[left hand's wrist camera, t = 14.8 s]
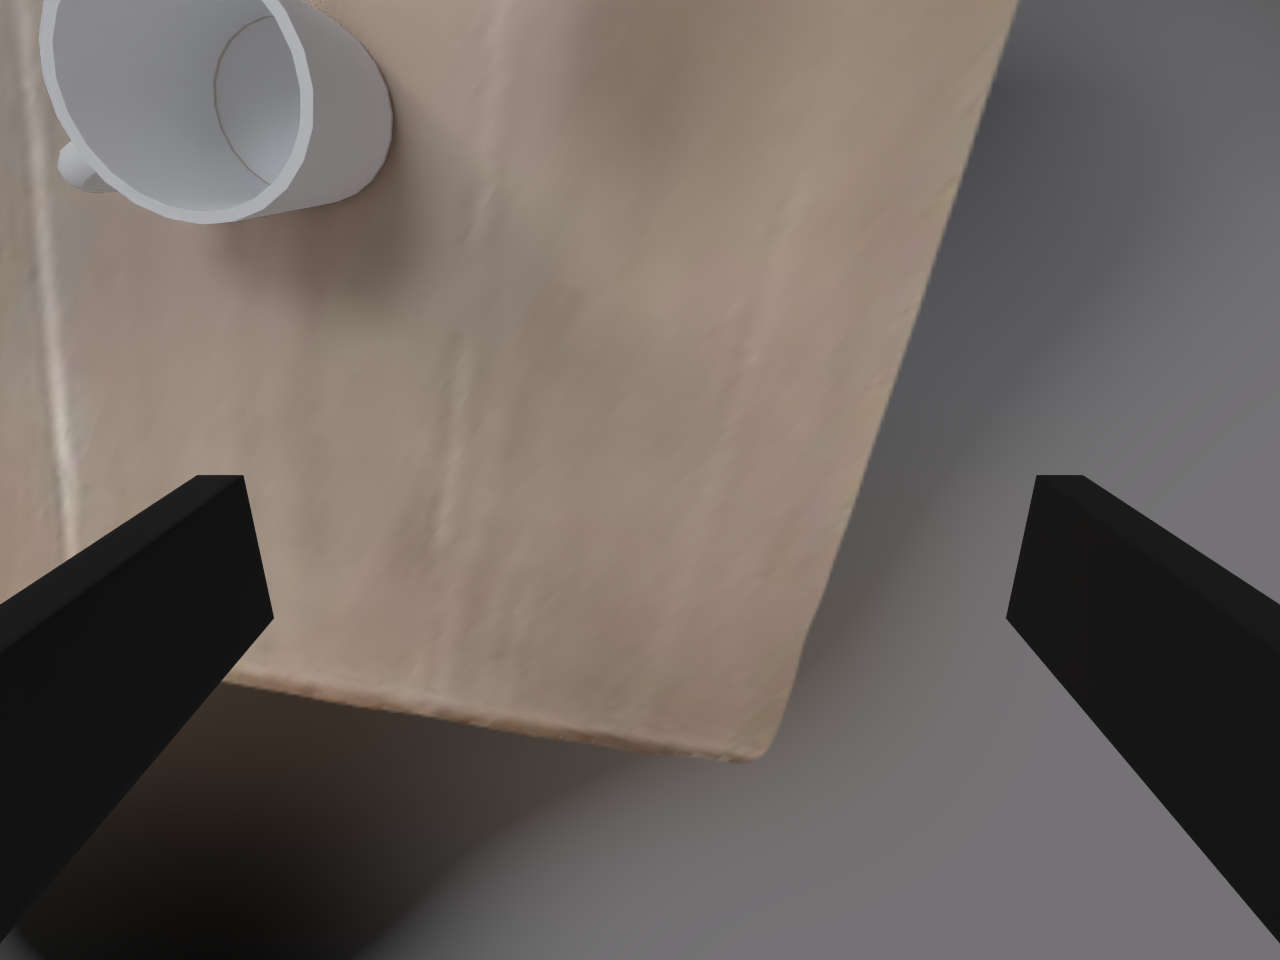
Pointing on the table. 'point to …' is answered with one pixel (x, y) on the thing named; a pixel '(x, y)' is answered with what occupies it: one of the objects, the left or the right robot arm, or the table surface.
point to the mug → (213, 104)
